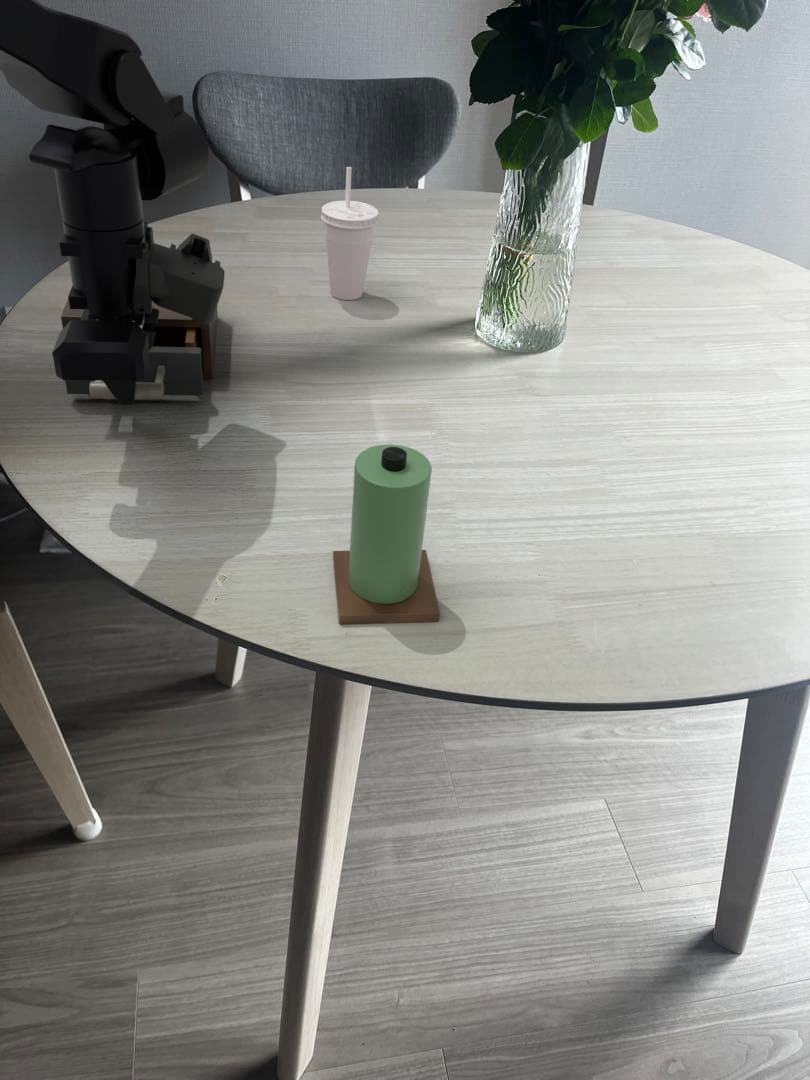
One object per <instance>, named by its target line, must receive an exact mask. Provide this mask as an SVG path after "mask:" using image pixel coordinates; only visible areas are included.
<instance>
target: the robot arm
mask: <svg viewBox="0 0 810 1080" xmlns="http://www.w3.org/2000/svg"><path fill="white" fill-rule="evenodd" d="M142 55H143V53H142V50H141V48H140V47H139V45H138V43H137V41H135V39H134V38H133V37H132V36H131V34H129V33H127V32H126V31H125V32H124V31H122V30H119V29H116V28H114V27H111V26H108V25H105V24H103V23H100V22H98V21H94V20H92V19H87V18H83V17H80V16H76V15H73V14H69V13H66V12H63V11H59V10H56V9H54V8H51V7H48V6H46V5H44V4H42V3H41V2H39V1H38V0H0V70H1V73H2V74H3V77H4V79H5V81H6V82H7V84H8V86H10V87H11V88H12V89H14V90H15V91H16V92H17V93H19V94H20V95H21V96H22V97H23V98H25V99H26V100H27V101H28V102H30V103H31V104H32V105H34V106H35V107H36V108H38V109H39V110H41V111H43V112H48V113H52V114H57V115H63V116H65V117H69V118H76V119H81V120H85V121H89V122H94V123H97V124H103V128H101V127H98V126H92V125H88V126H83V127H80V128H79V127H78V128H76V129H73V128H68V127H63V126H60V125H55V124H48V125H46V127H45V131H44V133H43V135H42V137H41V138H40V139H39V140H37V142H36V143H34V145H33V146H32V148H31V150H30V152H29V154H28V159H29V162H30V163H32V164H34V165H37V166H43V167H47V168H50V169H53V170H54V176H55V182H56V183H55V184H56V188H57V189H56V190H57V194H58V200H59V207H60V213H61V220H62V227H63V233H62V235H61V237H60V240H59V249H60V255H61V257H67V258H68V264H69V270H70V278H71V283H72V286H71V288H70V290H69V293H68V295H67V300H68V299H69V306H70V309H84V311H83V314H82V317H81V320H71V321H70V322H69V323H68V324H67V325H66V326H65V327H64V328H63V327H62V329H61V330H60V331H59V334H58V337H57V339H56V342H55V344H54V346H53V349H52V352H51V354H52V359H53V365H54V372H55V375H56V377H57V378H59V379H61V380H62V381H65V380H102V381H103V382H104V383H105V385H106V386H107V387H108V389H109V390H110V391H111V393H112V394H113V395H114V397H115V398H116V399H115V400H116V401H117V402H118V404H119V405H121V406H133V405H134V402H135V399H134V398H135V389H136V381H138V380H140V379H142V378H145V377H146V373H147V368H148V363H149V350H150V349H151V348H152V346H153V341H154V336H155V332H151V331H152V330H153V329H154V328H155V327H156V325H157V322H158V317H159V310H158V309H155V308H153V307H152V301H153V302H154V303H155V304H156V305H158V306H160V307H162V308H165V309H168V310H171V311H174V312H176V313H179V314H182V315H185V316H188V317H191V318H192V319H193V321H195V322H198V323H202V324H209V323H211V322H212V319H213V316H214V313H215V310H216V307H217V308H218V304H219V301H220V298H221V295H222V292H223V289H224V286H225V285H224V284H225V274H226V273H225V272H226V271H225V269H224V268H223V267H222V266H221V261H219V260H217V259H216V260H215V261H213V254H212V250H211V249H212V248H211V243H210V239H208V238H206V237H203V236H200V235H198V234H195V233H191V234H190V235H189V236H187V237H186V238H185V239H184V240H183V241H182V242H181V243H180V244H179V245H178V246H177V245H176V244H173V243H171V244H170V247H168V246H164V245H161V244H158V243H155V240H154V239H155V238H154V231H153V227H152V226H149V221H148V220H147V221H145V220H144V210H143V201H154V200H156V199H158V198H161V197H162V196H165V195H167V194H169V193H171V192H173V191H175V190H178V189H179V188H182V187H184V186H186V185H189V184H190V183H192V182H194V181H196V180H198V179H199V178H200V177H202V176H203V174H204V173H205V171H206V170H207V167H208V164H209V160H210V150H209V149H210V147H209V143H208V142H207V141H206V138H205V134H204V133H203V130H202V129H201V127H200V125H199V123H197V121H196V120H195V119H194V118H193V117H192V116H191V115H190V114H189V113H187V111H185V104H184V96H183V95H182V94H179V93H174V92H169V91H165V90H160V89H159V88H158V86H157V84H156V82H155V80H154V78H153V76H152V74H151V73H150V71H149V69H148V67H147V65H146V64H145V62H144V60H143V59H142V58H141V57H142Z"/></svg>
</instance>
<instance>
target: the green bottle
mask: <svg viewBox="0 0 810 1080" xmlns="http://www.w3.org/2000/svg"><path fill="white" fill-rule="evenodd" d="M432 470H433V468H432V464H431V462H430V460H429V459H428V458H427V457H426V455H424V454H423V453H422V452H420V451H419V450H416V449H414V448H411V447H409V446H405V445H400V444H380V445H374V446H371V447H368V448H366V449H365V450H363V451H361V452H360V453H359V454H358V455H357V457H356V458H355V461H354V470H353V471H354V472H353V488H352V489H353V490H352V491H353V492H352V506H351V507H352V508H351V525H350V541H349V551H350V556H349V573H348V581H349V585H350V587H351V589H352V590H353V591H354V592H355V593H356V594H357V595H358V596H360V597H361V598H363V599H365V600H367V601H370V602H374V603H380V604H392V603H397V602H400V601H403V600H405V599H407V598H409V597H410V596H411V595H412V594H413V593H414V592H415V590H416V588H417V585H418V577H419V569H420V561H421V553H422V550H423V544H424V537H425V526H426V519H427V512H428V505H429V504H428V503H429V497H430V496H429V494H430V487H431V480H432V479H431V478H432Z"/></svg>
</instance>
